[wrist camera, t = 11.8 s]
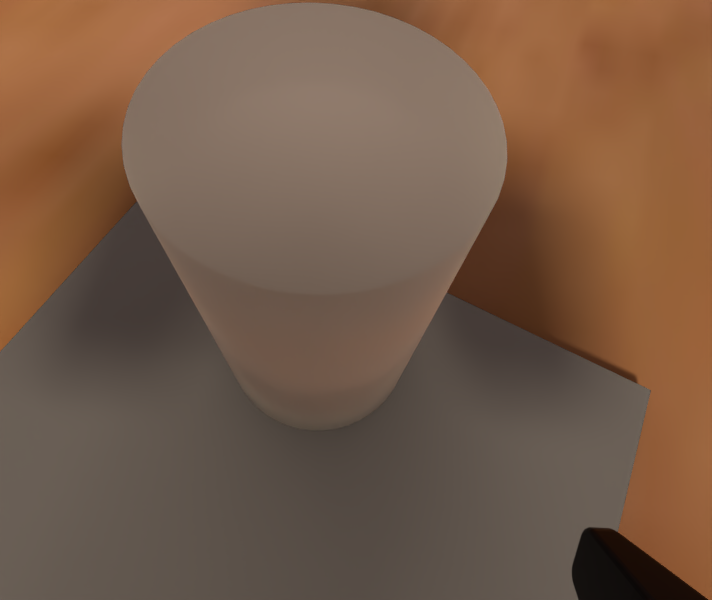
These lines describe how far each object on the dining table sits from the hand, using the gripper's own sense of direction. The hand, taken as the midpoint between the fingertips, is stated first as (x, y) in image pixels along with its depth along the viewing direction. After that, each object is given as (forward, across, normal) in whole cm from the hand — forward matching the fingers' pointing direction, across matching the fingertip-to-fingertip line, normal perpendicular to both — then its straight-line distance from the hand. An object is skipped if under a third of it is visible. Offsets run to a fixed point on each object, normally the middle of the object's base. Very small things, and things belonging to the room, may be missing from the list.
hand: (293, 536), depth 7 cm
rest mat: (+7, +1, +4) cm, 8 cm away
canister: (+10, 0, +1) cm, 10 cm away
